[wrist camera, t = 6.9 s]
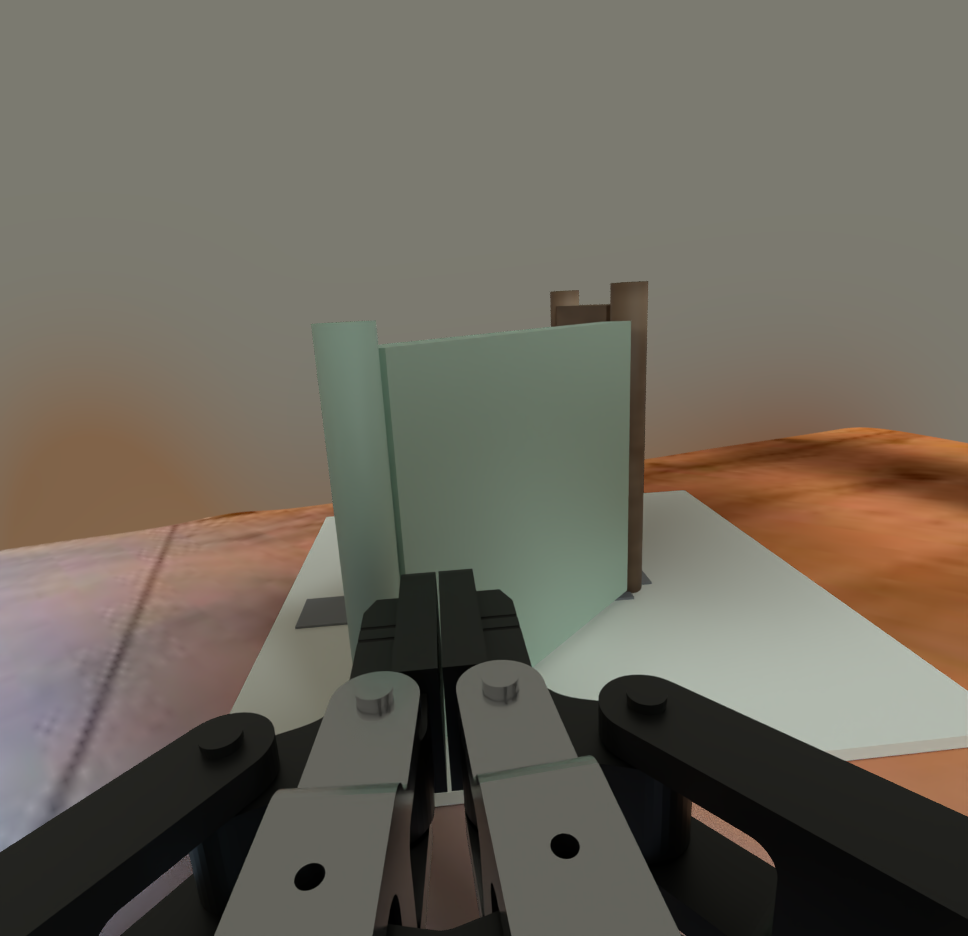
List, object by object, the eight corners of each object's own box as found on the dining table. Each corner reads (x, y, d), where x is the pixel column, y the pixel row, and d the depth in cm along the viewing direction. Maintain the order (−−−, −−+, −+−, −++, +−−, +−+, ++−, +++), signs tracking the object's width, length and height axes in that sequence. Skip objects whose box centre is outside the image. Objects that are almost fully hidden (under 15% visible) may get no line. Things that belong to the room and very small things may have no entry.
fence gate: (599, 582, 26) (599, 305, 23) (629, 590, 25) (633, 304, 22) (354, 765, 16) (297, 324, 13) (388, 789, 15) (337, 323, 12)
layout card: (684, 496, 39) (684, 488, 39) (1019, 741, 17) (1022, 726, 17) (327, 523, 37) (326, 515, 37) (178, 835, 15) (175, 819, 15)
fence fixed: (576, 499, 38) (575, 290, 35) (648, 592, 26) (656, 280, 22) (552, 501, 38) (547, 292, 35) (612, 595, 26) (614, 282, 22)
